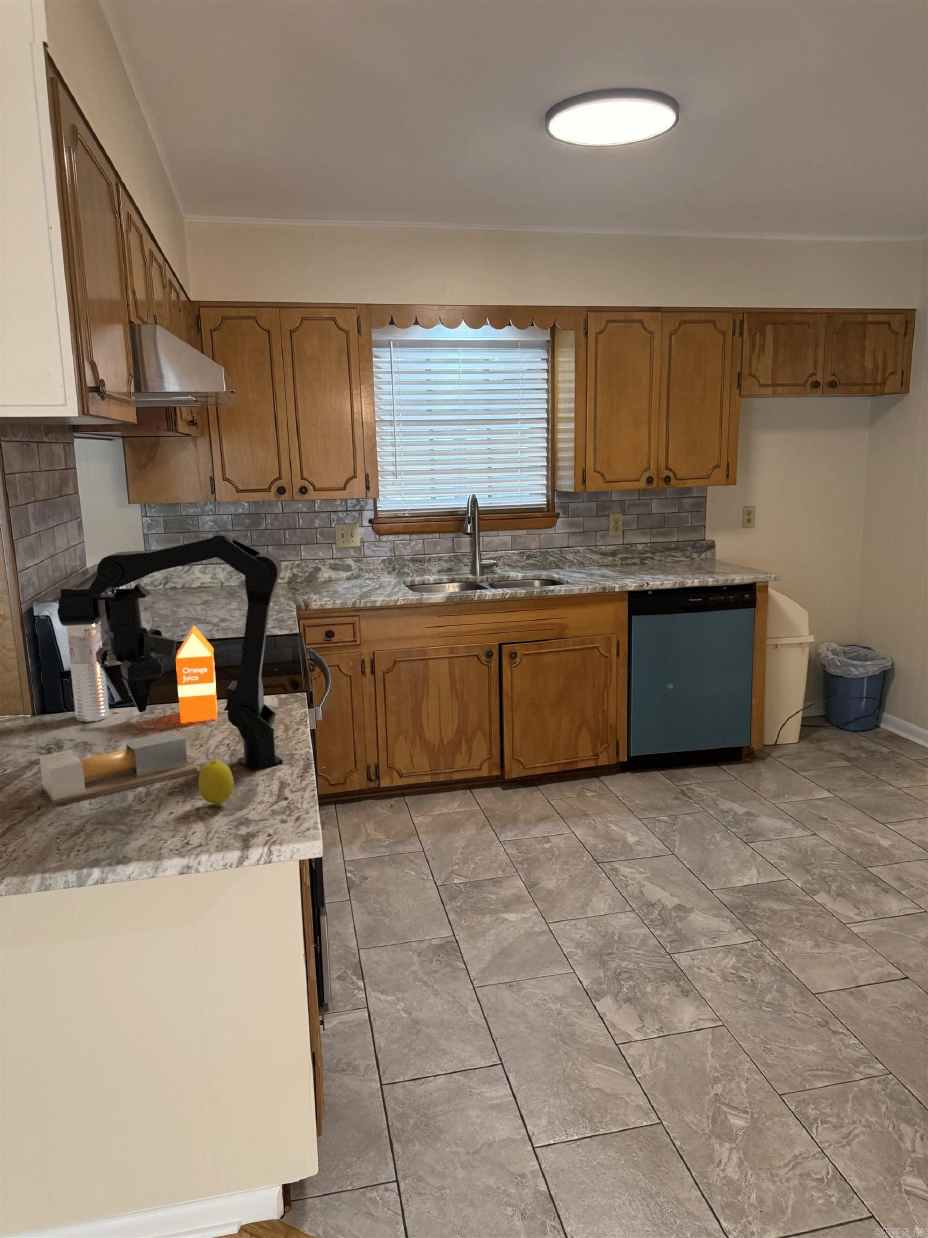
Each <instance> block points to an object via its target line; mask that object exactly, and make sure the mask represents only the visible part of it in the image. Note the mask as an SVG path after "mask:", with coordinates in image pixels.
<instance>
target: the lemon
mask: <svg viewBox="0 0 928 1238" xmlns="http://www.w3.org/2000/svg"><path fill="white" fill-rule="evenodd" d="M234 781H235V780H234V777H233V773H232V771H231V769H230V766H229V765H227V763H224V762H222V761H219V760H217V759H212V760H211V761H210V762H208V763H206V764H205V765H204V766H203V767H202V768H201V770H200V772H199V776H198V784H197V785H198V791H199V794H200V796H201V798H202V799H203V800H204V801H206V802H207V803H210V804H213V806H216V807H219V806H220V805H221V804H222V803H223V802H225V801H227V800H228V799H229V798H231V797H230V796H231V795H232V793H233V789H234V785H235V784H234ZM218 805H219V806H218Z"/></svg>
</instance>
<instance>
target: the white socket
mask: <svg viewBox="0 0 928 1238" xmlns="http://www.w3.org/2000/svg"><path fill="white" fill-rule="evenodd" d="M39 762H40V764H39V765H40V772H41V773H40V774H41V782H42V784H43V787H44V788H45V789H46V791H47V792H48V793H49V795H50V796H51V797H52V799H53V800H56V799H61V798H65V797H69V796H73V795H77V794H81V793H86V792H85V782H84V773H83V763H82V762H81V759H80V758H79V757H78V756H77V755H76V754H75V753H74V752H73V751H72V750H71V749H70V750H69V749H68V750H63V751H59V752H54V753H50V754H44V755H40V756H39Z"/></svg>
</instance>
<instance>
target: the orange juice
mask: <svg viewBox="0 0 928 1238" xmlns="http://www.w3.org/2000/svg"><path fill="white" fill-rule="evenodd" d="M176 653H177V654H176V656H175V665H176V676H177V677H176V680H177V693H178V694H177V695H178V703H179V706H178V707H179V715H180V724H181V723H183V724H188V723H187V722H194V723H196V722H195V721H204V720H210V719H217V720H218V704H217V703H218V701H217V699H218V698H217V687H216V686H217V684H216V670H215V664H216V663H215V659H214V657H215V656H214V647H213V646H212V645H211V644H210V642H209V641H208V640H207V638H206V637H205V636H204V635H203V634H202V632H201V631H199V629H198V628H197V627H196V626H195V625H193V627H192V628H191V630H190V631H189V633H188V635H187V636H186V638H185V639H184V641H183V642H182V644H181V646H180V648H179V649H178V650H177V652H176Z"/></svg>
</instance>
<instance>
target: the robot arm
mask: <svg viewBox="0 0 928 1238" xmlns="http://www.w3.org/2000/svg"><path fill="white" fill-rule="evenodd" d="M216 558H217V559H219V560H221V561H223V562H224V563H226V564H227V565H228V566H229V567H231V568H232V569H233V570H235V571H237V572H238V573H240V574H242V575H243V576H244V582H245V593H246V599H247V611H246V617H245V618H246V620H245V627H244V635H243V642H242V643H243V644H242V651H241V659H240V668H239V676H238V679H237V681H234V680H232V681H231V683H230V684H229V686H228V687H227V688H226V701H227V702H226V705H225V707H224V709H223V711H224V712H226V711H227V719H228V722H230V723H231V725H232V726H234V727H235V728H237V730H238V732H239V734H240V737H241V738H242V740H243V754H244V756H243V757H240V758H239V757H238V759H237V762H238V763H239V764H241V765H243V766H244V767H245V768H247V769H249V771H256V770H260V769H263V768H268V767H272V766H275V765H279V764H283V763H282V762H284V760H283V759H282V758H280V757H278V756H277V755H276V740H275V729H274V728H273V725H274V723H275V719H276V716H277V713H276V712H275V711H274V710H272V708H271V707H269V706H268V705H266V704H265V699H264V698H265V697H264V685H263V679H262V670H263V663H264V656H265V655H264V654H265V649H266V648H265V647H266V639H267V631H268V623H269V616H270V610H271V609H270V608H271V605H272V604H271V602H272V601H273V598H274V595H275V592H276V589H277V586H278V583H279V580H280V576H281V573H282V563H281V561H280V560H279V558H278V557H277V556H276V555H274V554H273V553H269V552H262V553H261V552H260V551H258V550H256V549H254V548H253V547H251V546H249V545H247V544H245V543H242V541H241V542H240V541H238V540H236V539H235V538H233V537H232V536H230V535H229V534H227V533H218V534H216V535H214V536H211V537H206V538H203V539H197V540H194V541H189V542H185V543H180V544H176V545H171V546H168V547H164V548H159V549H155V550H131V551H130V550H129V551H118V552H115V553H112V554H110V555H107V556H105V557H103V558H101V559H100V561H99V562H98V565H97V568H96V572H97V575H96V576H95V578H94V580H93V582H92V583H91V584H90V585H89V587H73V586H71V587H70V586H67V587H63V588H60V591H59V593H60V597H59V599H58V608H57V617H58V620H59V623H60V624H61V626H63V627H67V626H73V625H93V624H98V623H99V624H100V620H101V619H104V618H105V616H106V623H107V624H106V625H107V628H104V635H105V636H107V637H108V641H109V642H108V643H109V645H108V646H107V645H106V646H102V647H100V648H99V650H98V651H97V652H96V659H97V663H99V664H101V665H100V668H101V669H102V670H103V672H104V673H105V676H106V679H108V681H109V682H110V684H111V686H112V687H113V689H114V691H115V692H116V694H117V695H118V698H119V699H120V700H121V702H123V703H125V702H128V701H129V698H130V697H131V699H132V701H133V703H134V705H135V707H136V709H137V710H138V712H139V713H145V712H146V710H147V707H148V700H149V697H150V691H151V687H152V684H153V683H154V681H156V680H157V679H159V678H160V677H161V676H162V675H163V674H164V673H165V669H164V662H163V661H161V660H159V658H157V657H154V656H152V654H158V655H163V656H166V657H168V658H169V657H170V658H173V657H174V655H175V654H174V653H175V649H176V646H177V640H176V639H174V638H172V637H167V636H165V635H164V636H163V632H162V630H160V629H156V628H150V629H149V630H148V629H147V628H146V627H145V626H143V623H142V618H141V607H140V599H145V598H147V597H148V596H150V595H151V591H150V590H148V589H147V588H145V587H144V586H143V584H141V583H137V584H135V585H134V587H130V588H127V587H126V588H122V587H124V586H126V585H129V584H131V583H133V582H135V581H138V580H140V579H142V578H144V577H146V576H149V575H151V574H154V573H156V572H161V571H164V570H165V571H166V570H170V569H173V568H177V567H181V566H185V565H190V564H191V565H192V564H195V563H198V562H203V561H207V560H212V559H216ZM115 588H117V589H116V590H115V592H114V593H109V594H103V593H106V592H108V591H109V590H112V589H115Z"/></svg>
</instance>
